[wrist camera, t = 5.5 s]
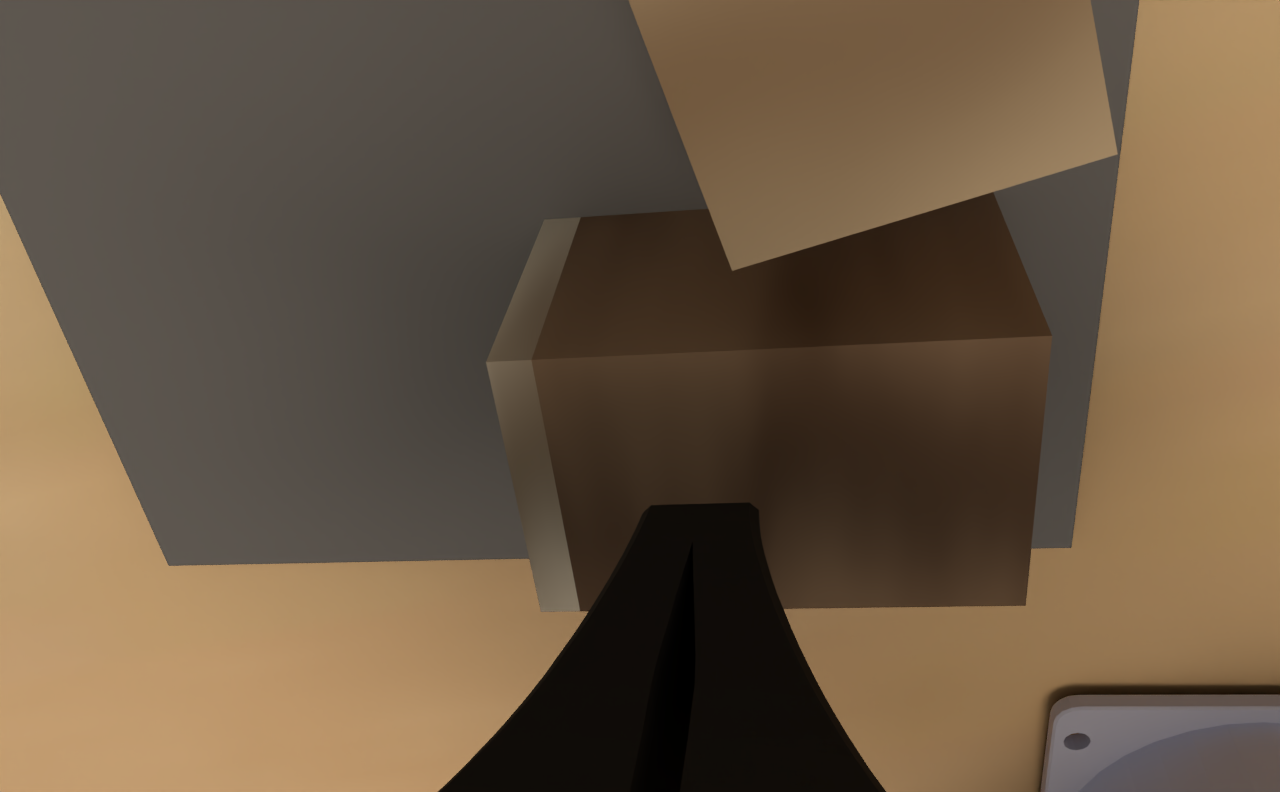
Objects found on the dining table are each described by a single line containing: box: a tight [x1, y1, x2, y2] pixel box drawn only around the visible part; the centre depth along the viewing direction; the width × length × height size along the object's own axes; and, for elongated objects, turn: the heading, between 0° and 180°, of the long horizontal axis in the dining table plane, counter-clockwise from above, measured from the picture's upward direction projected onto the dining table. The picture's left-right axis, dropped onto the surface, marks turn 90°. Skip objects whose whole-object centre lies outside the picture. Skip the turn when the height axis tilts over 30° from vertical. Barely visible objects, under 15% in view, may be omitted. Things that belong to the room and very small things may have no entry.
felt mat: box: [0, 0, 1139, 566], centre depth 18 cm, size 14×18×1 cm
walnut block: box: [486, 192, 1052, 612], centre depth 17 cm, size 4×4×7 cm
